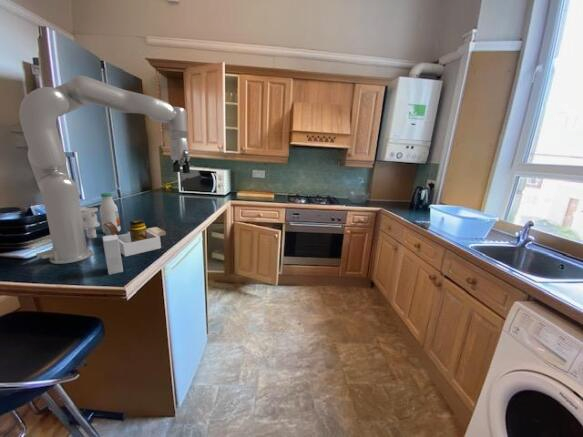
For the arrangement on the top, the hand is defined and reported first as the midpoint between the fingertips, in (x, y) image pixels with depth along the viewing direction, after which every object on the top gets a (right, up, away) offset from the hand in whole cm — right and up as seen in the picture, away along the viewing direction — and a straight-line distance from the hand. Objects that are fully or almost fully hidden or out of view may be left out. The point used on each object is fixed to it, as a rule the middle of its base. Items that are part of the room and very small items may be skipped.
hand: (181, 172), depth 122 cm
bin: (-13, -35, -13) cm, 40 cm away
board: (-19, -31, +3) cm, 36 cm away
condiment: (-13, -35, -13) cm, 40 cm away
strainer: (-42, -32, -1) cm, 53 cm away
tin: (-29, -33, -6) cm, 44 cm away
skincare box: (-8, -41, -35) cm, 54 cm away
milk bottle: (-40, -29, +8) cm, 50 cm away
